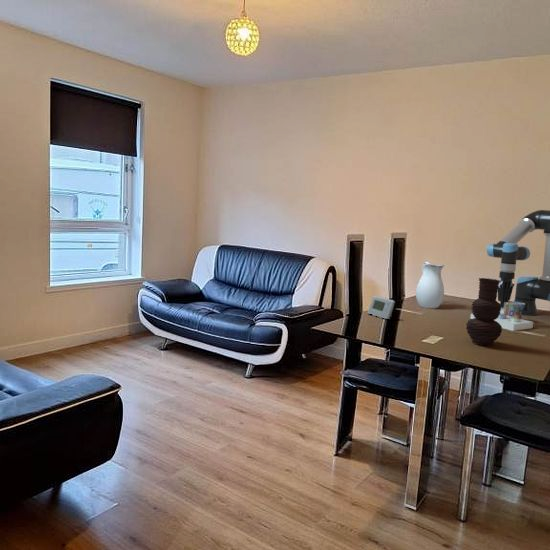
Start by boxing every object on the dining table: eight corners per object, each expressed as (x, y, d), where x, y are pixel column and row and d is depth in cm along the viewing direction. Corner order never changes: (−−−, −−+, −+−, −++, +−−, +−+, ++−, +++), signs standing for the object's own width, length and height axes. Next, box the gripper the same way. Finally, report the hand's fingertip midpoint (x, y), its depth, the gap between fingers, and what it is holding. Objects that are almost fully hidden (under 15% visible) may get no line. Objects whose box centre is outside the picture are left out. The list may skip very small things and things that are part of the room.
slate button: (499, 321, 276) (500, 314, 275) (507, 323, 272) (508, 316, 271) (494, 322, 273) (495, 314, 273) (502, 324, 269) (503, 316, 269)
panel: (489, 317, 288) (490, 311, 288) (532, 328, 267) (533, 321, 266) (470, 319, 279) (470, 313, 278) (513, 330, 257) (514, 324, 256)
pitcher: (446, 310, 303) (451, 265, 299) (418, 308, 303) (423, 263, 299) (434, 302, 326) (438, 261, 323) (408, 301, 326) (413, 259, 323)
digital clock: (365, 314, 277) (367, 295, 276) (379, 313, 280) (381, 295, 279) (382, 320, 262) (383, 301, 261) (396, 320, 266) (398, 301, 264)
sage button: (512, 324, 269) (513, 317, 269) (521, 327, 265) (522, 319, 265) (507, 325, 267) (508, 318, 266) (515, 327, 263) (516, 320, 262)
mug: (520, 323, 277) (523, 305, 276) (503, 320, 283) (505, 302, 281) (525, 320, 287) (527, 302, 285) (508, 317, 292) (510, 300, 291)
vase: (482, 349, 217) (490, 282, 212) (456, 339, 230) (464, 276, 226) (507, 347, 223) (516, 282, 219) (481, 338, 237) (488, 276, 233)
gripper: (508, 270, 275) (503, 311, 279) (494, 270, 268) (489, 312, 272) (520, 271, 269) (515, 314, 272) (506, 272, 262) (501, 315, 265)
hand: (502, 313), depth 272 cm, fingers closed
